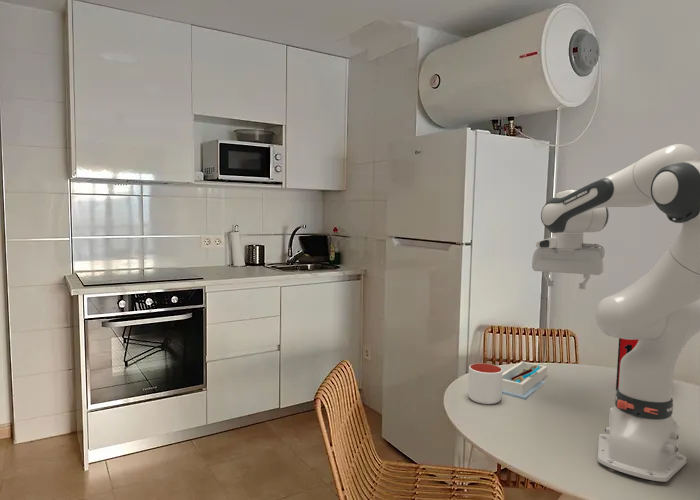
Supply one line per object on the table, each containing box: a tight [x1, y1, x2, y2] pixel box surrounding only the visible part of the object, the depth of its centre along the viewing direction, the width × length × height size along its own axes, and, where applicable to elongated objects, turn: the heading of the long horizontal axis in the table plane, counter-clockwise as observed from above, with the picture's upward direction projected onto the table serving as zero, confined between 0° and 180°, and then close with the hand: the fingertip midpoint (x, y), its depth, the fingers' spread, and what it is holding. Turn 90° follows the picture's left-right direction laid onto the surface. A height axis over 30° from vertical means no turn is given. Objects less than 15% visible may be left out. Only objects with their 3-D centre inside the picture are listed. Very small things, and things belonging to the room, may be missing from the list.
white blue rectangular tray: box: [502, 360, 548, 400], centre depth 166 cm, size 27×12×4 cm, turn 141°
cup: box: [467, 362, 504, 405], centre depth 152 cm, size 10×10×10 cm
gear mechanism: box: [511, 360, 540, 383], centre depth 166 cm, size 20×5×9 cm
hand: (565, 287), depth 152 cm, fingers open, 8 cm apart
